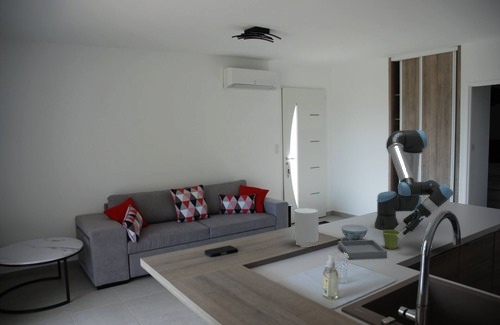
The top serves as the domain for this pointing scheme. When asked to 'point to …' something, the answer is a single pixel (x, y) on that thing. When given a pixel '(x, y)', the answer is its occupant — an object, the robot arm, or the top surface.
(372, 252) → the tray
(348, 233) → the chinaware
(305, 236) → the canister
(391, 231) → the plant pot
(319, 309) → the top surface
